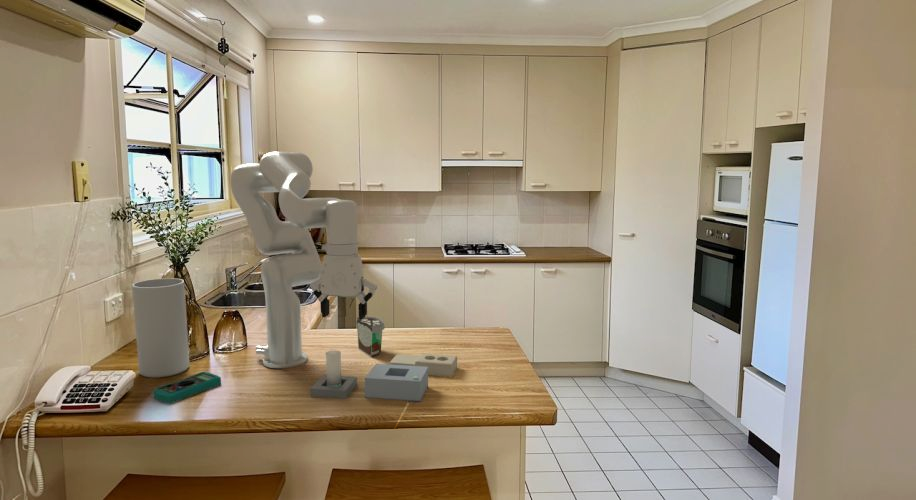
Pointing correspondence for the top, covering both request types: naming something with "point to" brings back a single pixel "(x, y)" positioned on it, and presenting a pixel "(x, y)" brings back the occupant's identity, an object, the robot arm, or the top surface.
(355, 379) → the grey square socket base
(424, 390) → the port block
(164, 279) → the cylinder vase
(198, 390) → the digital multimeter
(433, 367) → the electrical outlet
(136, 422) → the top surface
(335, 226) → the robot arm
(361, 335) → the food container
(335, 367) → the plug
